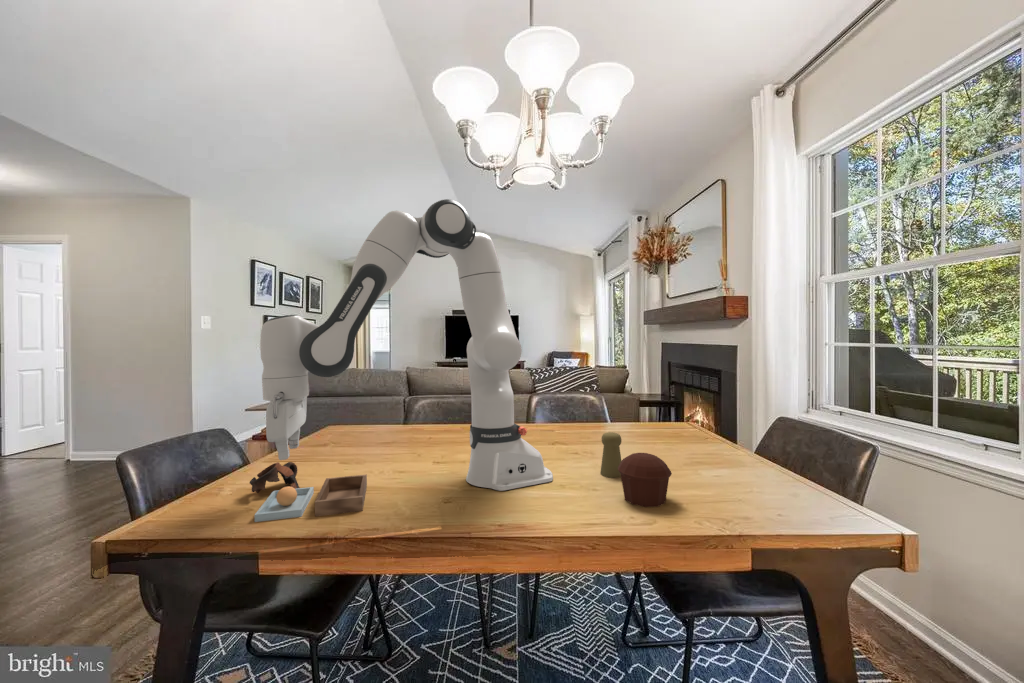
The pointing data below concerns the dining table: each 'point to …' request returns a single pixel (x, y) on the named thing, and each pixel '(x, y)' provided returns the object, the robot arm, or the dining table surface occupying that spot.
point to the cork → (611, 455)
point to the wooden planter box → (341, 495)
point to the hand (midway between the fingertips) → (289, 453)
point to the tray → (277, 511)
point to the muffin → (644, 479)
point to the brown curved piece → (275, 476)
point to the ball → (286, 496)
